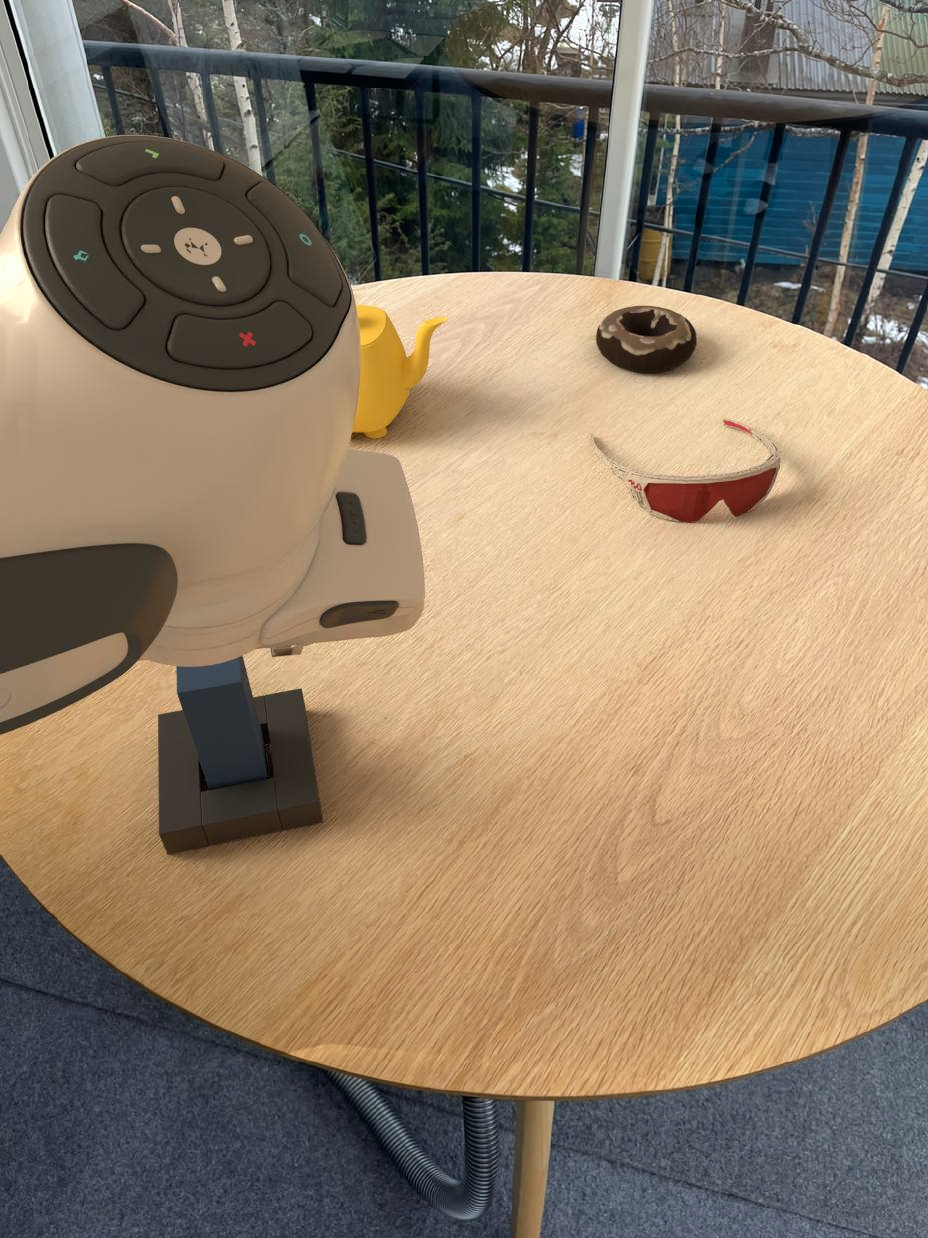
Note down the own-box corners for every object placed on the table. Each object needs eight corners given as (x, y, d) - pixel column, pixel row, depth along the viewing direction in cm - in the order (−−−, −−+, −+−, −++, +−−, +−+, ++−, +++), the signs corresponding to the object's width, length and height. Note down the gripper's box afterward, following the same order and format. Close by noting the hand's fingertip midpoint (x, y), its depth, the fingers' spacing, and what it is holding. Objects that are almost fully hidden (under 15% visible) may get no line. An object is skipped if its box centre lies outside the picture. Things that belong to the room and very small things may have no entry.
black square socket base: (167, 855, 63) (158, 834, 62) (165, 735, 71) (157, 714, 69) (323, 822, 65) (319, 801, 63) (305, 709, 73) (301, 687, 71)
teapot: (442, 455, 97) (439, 344, 88) (254, 445, 99) (233, 335, 90) (457, 388, 107) (455, 282, 98) (286, 380, 108) (269, 275, 100)
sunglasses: (631, 537, 87) (634, 488, 84) (578, 463, 101) (579, 418, 98) (806, 513, 89) (815, 465, 86) (730, 444, 103) (736, 400, 100)
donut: (702, 378, 108) (708, 346, 105) (599, 379, 108) (602, 347, 105) (685, 330, 116) (690, 299, 113) (589, 331, 116) (592, 300, 113)
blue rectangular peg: (214, 806, 66) (176, 693, 58) (212, 762, 69) (175, 648, 61) (271, 795, 67) (242, 681, 58) (266, 751, 70) (238, 637, 61)
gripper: (-132, 651, 30) (-40, 740, 43) (465, 597, 37) (393, 688, 49) (-133, 476, 32) (-45, 610, 45) (436, 453, 39) (374, 576, 51)
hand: (189, 651), depth 47 cm, fingers open, 8 cm apart
